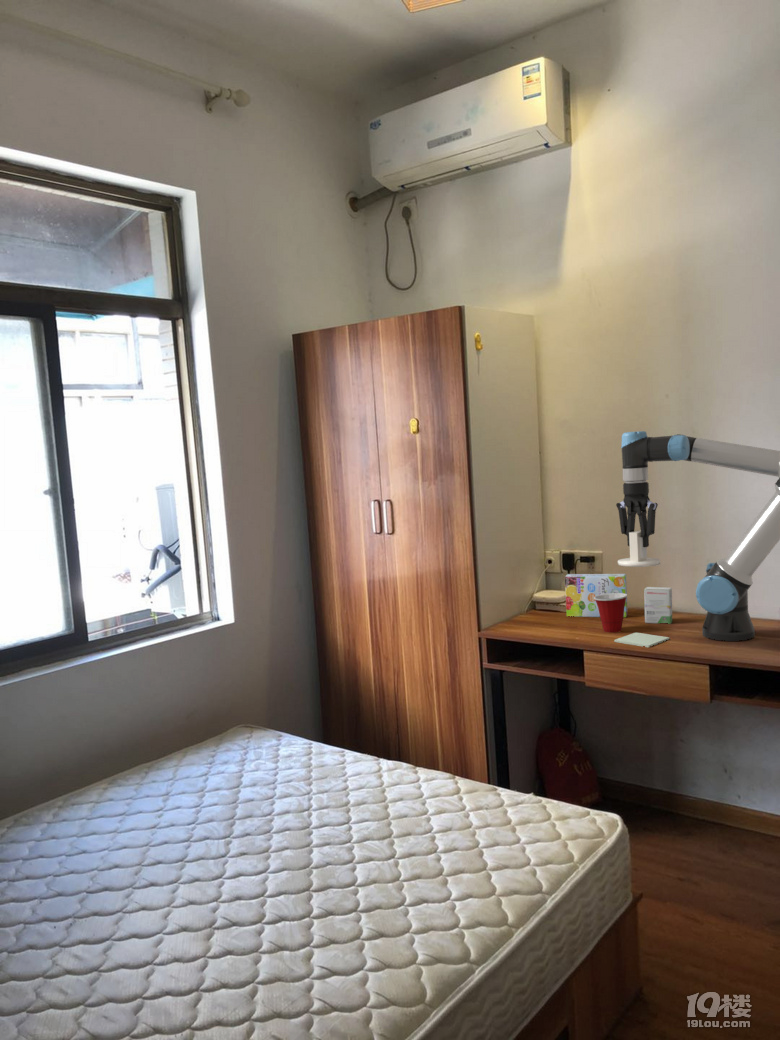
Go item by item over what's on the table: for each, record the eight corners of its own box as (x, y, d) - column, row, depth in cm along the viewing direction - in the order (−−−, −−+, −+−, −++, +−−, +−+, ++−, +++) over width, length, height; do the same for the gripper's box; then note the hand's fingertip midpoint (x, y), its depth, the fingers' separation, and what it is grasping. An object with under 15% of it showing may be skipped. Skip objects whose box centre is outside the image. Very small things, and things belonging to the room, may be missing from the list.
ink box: (644, 623, 278) (643, 589, 277) (647, 619, 283) (646, 586, 282) (671, 624, 274) (669, 589, 273) (673, 620, 279) (672, 586, 278)
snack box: (628, 614, 293) (626, 573, 291) (626, 618, 287) (625, 575, 286) (568, 613, 300) (566, 573, 299) (565, 617, 295) (564, 575, 294)
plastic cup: (600, 625, 278) (598, 591, 277) (632, 627, 272) (631, 592, 271) (590, 633, 269) (589, 597, 268) (623, 635, 263) (622, 598, 262)
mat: (669, 639, 255) (669, 637, 255) (648, 647, 247) (648, 645, 247) (635, 634, 264) (635, 632, 264) (614, 641, 256) (614, 639, 256)
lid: (668, 562, 253) (667, 530, 252) (645, 568, 245) (644, 535, 244) (632, 559, 262) (631, 528, 261) (609, 565, 254) (608, 533, 253)
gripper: (665, 480, 247) (668, 557, 250) (620, 481, 260) (623, 554, 262) (651, 482, 243) (654, 560, 245) (606, 482, 255) (609, 557, 257)
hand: (638, 557), depth 253 cm, fingers closed on lid, 3 cm apart
